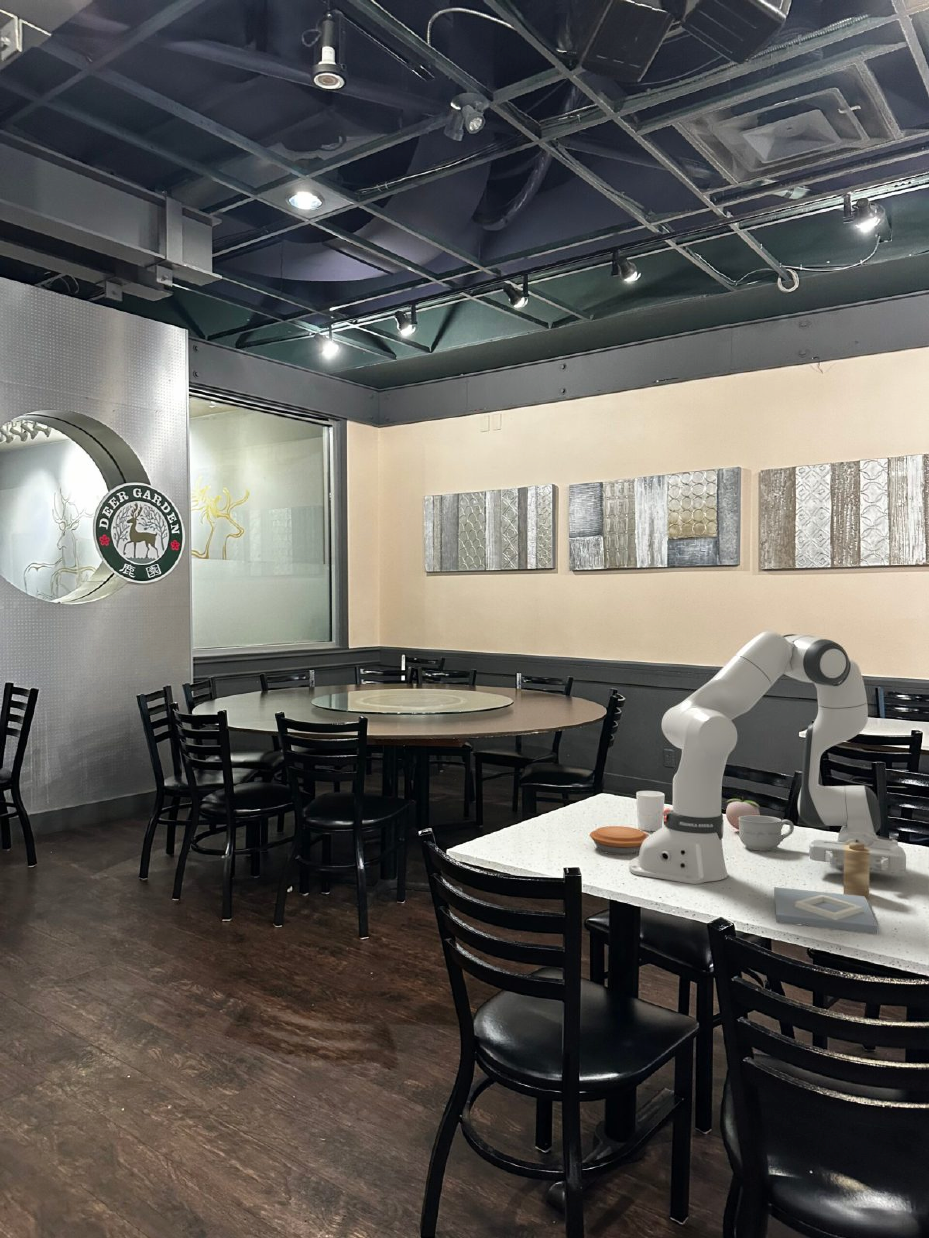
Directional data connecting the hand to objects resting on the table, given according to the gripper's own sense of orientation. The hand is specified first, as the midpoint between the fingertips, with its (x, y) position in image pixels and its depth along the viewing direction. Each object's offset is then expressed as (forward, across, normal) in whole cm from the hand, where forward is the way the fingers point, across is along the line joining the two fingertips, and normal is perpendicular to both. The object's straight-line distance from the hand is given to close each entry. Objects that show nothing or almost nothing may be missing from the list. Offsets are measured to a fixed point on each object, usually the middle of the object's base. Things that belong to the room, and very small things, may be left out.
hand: (856, 863), depth 190 cm
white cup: (-33, -54, +6) cm, 63 cm away
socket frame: (+23, -5, +4) cm, 24 cm away
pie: (-7, -56, +6) cm, 57 cm away
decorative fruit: (-41, -30, +6) cm, 51 cm away
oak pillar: (+5, 0, +6) cm, 7 cm away
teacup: (-26, -22, +6) cm, 34 cm away
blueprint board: (+21, -6, +6) cm, 23 cm away
